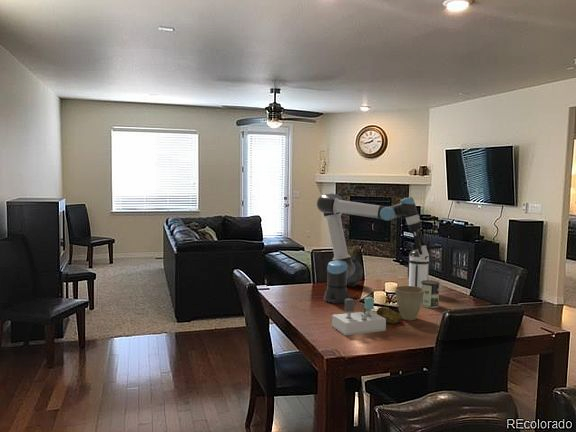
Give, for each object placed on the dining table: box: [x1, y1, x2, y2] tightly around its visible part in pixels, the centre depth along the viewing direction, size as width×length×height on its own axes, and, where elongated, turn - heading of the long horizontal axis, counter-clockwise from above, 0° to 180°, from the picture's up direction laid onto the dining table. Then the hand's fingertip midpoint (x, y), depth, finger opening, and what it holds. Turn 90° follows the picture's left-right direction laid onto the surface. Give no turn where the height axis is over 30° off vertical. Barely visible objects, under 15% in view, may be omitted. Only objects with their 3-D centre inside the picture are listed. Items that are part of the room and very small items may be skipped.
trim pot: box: [361, 311, 367, 321], centre depth 231 cm, size 3×3×4 cm
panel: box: [331, 310, 387, 336], centre depth 236 cm, size 14×22×6 cm, turn 111°
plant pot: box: [394, 285, 424, 321], centre depth 254 cm, size 15×15×16 cm
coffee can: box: [421, 279, 440, 309], centre depth 281 cm, size 10×10×14 cm
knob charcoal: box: [344, 298, 355, 319], centre depth 233 cm, size 4×4×10 cm
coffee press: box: [407, 249, 431, 288], centre depth 315 cm, size 17×16×30 cm
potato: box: [376, 306, 403, 325], centre depth 247 cm, size 8×13×8 cm, turn 76°
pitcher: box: [346, 241, 364, 287], centre depth 331 cm, size 11×19×30 cm, turn 63°
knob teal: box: [363, 296, 375, 317], centre depth 237 cm, size 4×4×10 cm
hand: (424, 258), depth 280 cm, fingers open, 13 cm apart
